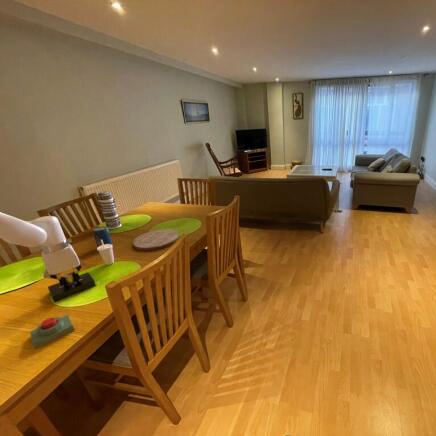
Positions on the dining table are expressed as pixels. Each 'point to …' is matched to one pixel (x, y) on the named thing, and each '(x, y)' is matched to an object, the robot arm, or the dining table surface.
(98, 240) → the soda can
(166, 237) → the trivet
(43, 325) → the power button
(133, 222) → the dining table surface
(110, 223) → the grey ringed cylinder
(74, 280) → the hob knob
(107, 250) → the smoothie
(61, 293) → the hob panel
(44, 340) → the push button box
